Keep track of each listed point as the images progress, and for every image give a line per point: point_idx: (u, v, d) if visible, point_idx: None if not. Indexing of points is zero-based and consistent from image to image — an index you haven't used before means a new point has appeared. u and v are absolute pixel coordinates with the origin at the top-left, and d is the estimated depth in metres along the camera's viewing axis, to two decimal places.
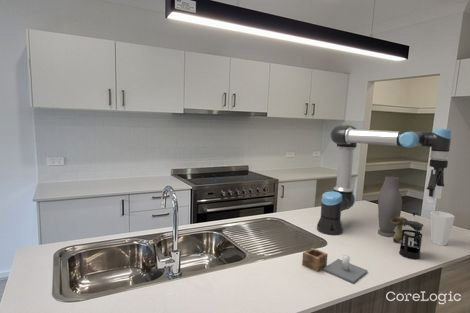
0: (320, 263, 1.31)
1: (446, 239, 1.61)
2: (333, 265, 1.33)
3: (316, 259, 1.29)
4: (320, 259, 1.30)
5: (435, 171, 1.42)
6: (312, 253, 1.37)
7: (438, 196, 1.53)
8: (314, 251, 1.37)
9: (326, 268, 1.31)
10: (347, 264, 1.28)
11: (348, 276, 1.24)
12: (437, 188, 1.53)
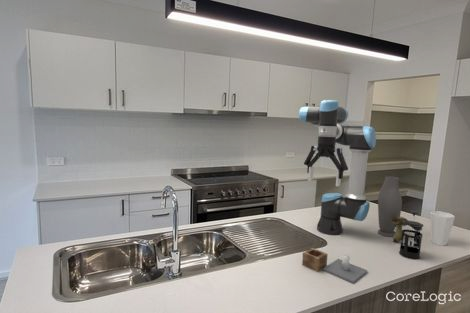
0: (320, 263, 1.31)
1: (446, 239, 1.61)
2: (333, 265, 1.33)
3: (316, 259, 1.29)
4: (320, 259, 1.30)
5: None
6: (312, 253, 1.37)
7: None
8: (314, 251, 1.37)
9: (326, 268, 1.31)
10: (347, 264, 1.28)
11: (348, 276, 1.24)
12: None
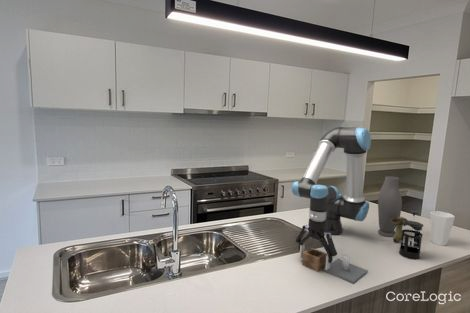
0: (320, 263, 1.31)
1: (446, 239, 1.61)
2: (333, 265, 1.33)
3: (316, 259, 1.29)
4: (320, 259, 1.30)
5: None
6: (312, 253, 1.37)
7: None
8: (314, 251, 1.37)
9: None
10: (347, 264, 1.28)
11: (348, 276, 1.24)
12: None
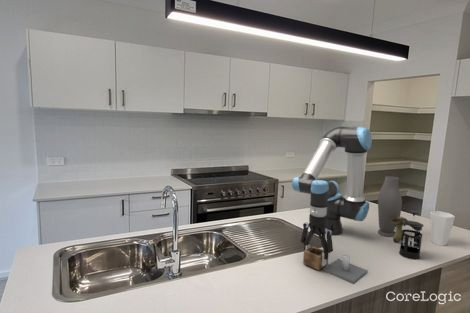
0: (321, 261, 1.31)
1: (446, 239, 1.61)
2: (333, 265, 1.33)
3: (317, 258, 1.29)
4: (321, 258, 1.30)
5: None
6: (313, 251, 1.37)
7: None
8: (315, 249, 1.37)
9: (326, 268, 1.31)
10: (347, 264, 1.28)
11: (348, 276, 1.24)
12: None
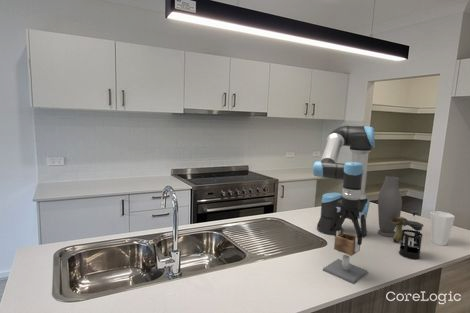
0: (354, 247, 1.25)
1: (446, 239, 1.61)
2: (333, 265, 1.33)
3: (350, 243, 1.23)
4: (354, 243, 1.24)
5: None
6: (344, 237, 1.31)
7: None
8: (346, 235, 1.31)
9: (326, 268, 1.31)
10: (347, 264, 1.28)
11: (348, 276, 1.24)
12: None
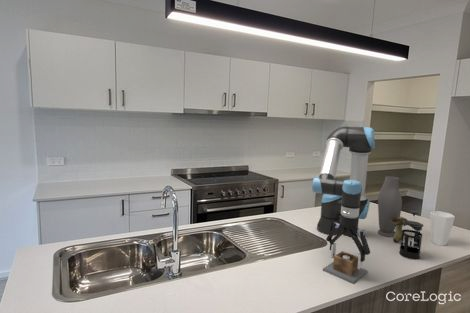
0: (353, 267, 1.26)
1: (446, 239, 1.61)
2: None
3: (349, 263, 1.25)
4: (353, 263, 1.25)
5: None
6: None
7: None
8: (345, 254, 1.33)
9: (326, 268, 1.31)
10: None
11: (348, 276, 1.24)
12: None
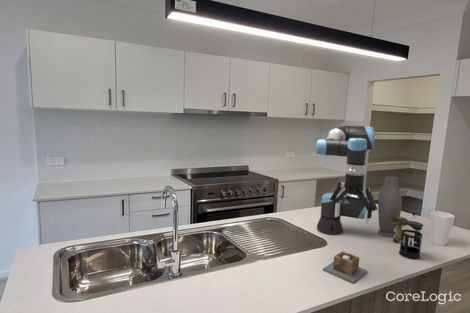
0: (353, 267, 1.26)
1: (446, 239, 1.61)
2: None
3: (349, 263, 1.25)
4: (353, 263, 1.25)
5: None
6: None
7: None
8: (345, 254, 1.33)
9: (326, 268, 1.31)
10: None
11: (348, 276, 1.24)
12: None
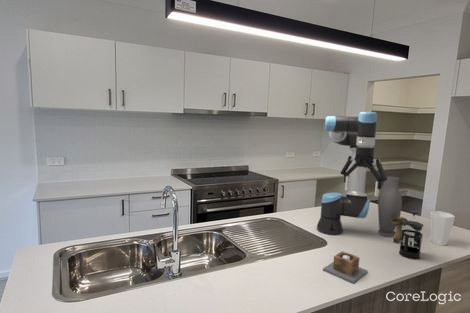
0: (353, 267, 1.26)
1: (446, 239, 1.61)
2: None
3: (349, 263, 1.25)
4: (353, 263, 1.25)
5: None
6: None
7: None
8: (345, 254, 1.33)
9: (326, 268, 1.31)
10: None
11: (348, 276, 1.24)
12: None
